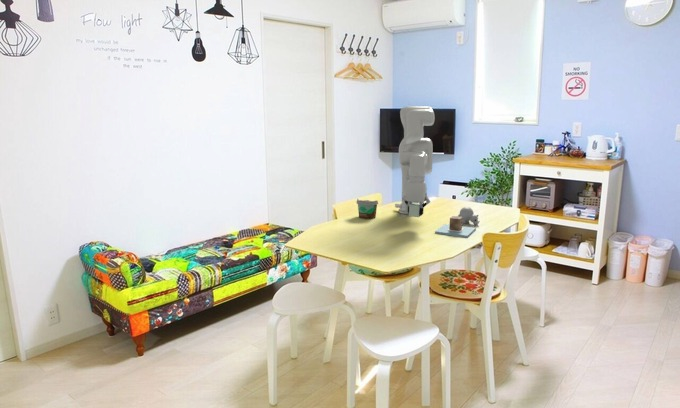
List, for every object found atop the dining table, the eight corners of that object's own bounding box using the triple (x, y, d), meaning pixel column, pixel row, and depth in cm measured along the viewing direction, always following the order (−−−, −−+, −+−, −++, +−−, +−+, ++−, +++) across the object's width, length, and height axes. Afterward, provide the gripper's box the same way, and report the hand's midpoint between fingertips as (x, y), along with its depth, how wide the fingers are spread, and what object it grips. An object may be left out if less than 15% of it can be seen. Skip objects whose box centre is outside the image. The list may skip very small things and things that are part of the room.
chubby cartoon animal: (471, 231, 259) (477, 217, 255) (453, 219, 266) (459, 205, 262) (479, 228, 264) (485, 215, 260) (461, 216, 271) (467, 203, 267)
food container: (353, 218, 275) (353, 200, 273) (357, 215, 280) (357, 198, 278) (374, 220, 270) (374, 202, 268) (378, 218, 276) (378, 200, 274)
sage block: (408, 216, 251) (409, 204, 250) (412, 213, 255) (412, 202, 254) (418, 217, 249) (418, 205, 247) (421, 215, 253) (422, 203, 252)
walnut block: (449, 229, 248) (449, 217, 246) (452, 227, 252) (452, 215, 251) (459, 231, 245) (459, 219, 244) (462, 228, 250) (462, 217, 248)
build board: (434, 233, 246) (435, 230, 246) (444, 225, 259) (444, 223, 259) (467, 237, 238) (467, 235, 238) (475, 229, 252) (475, 227, 252)
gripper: (397, 178, 248) (396, 214, 253) (430, 182, 240) (429, 218, 245) (403, 176, 254) (402, 210, 259) (435, 179, 247) (434, 215, 251)
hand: (415, 214), depth 252 cm, fingers closed on sage block, 5 cm apart
